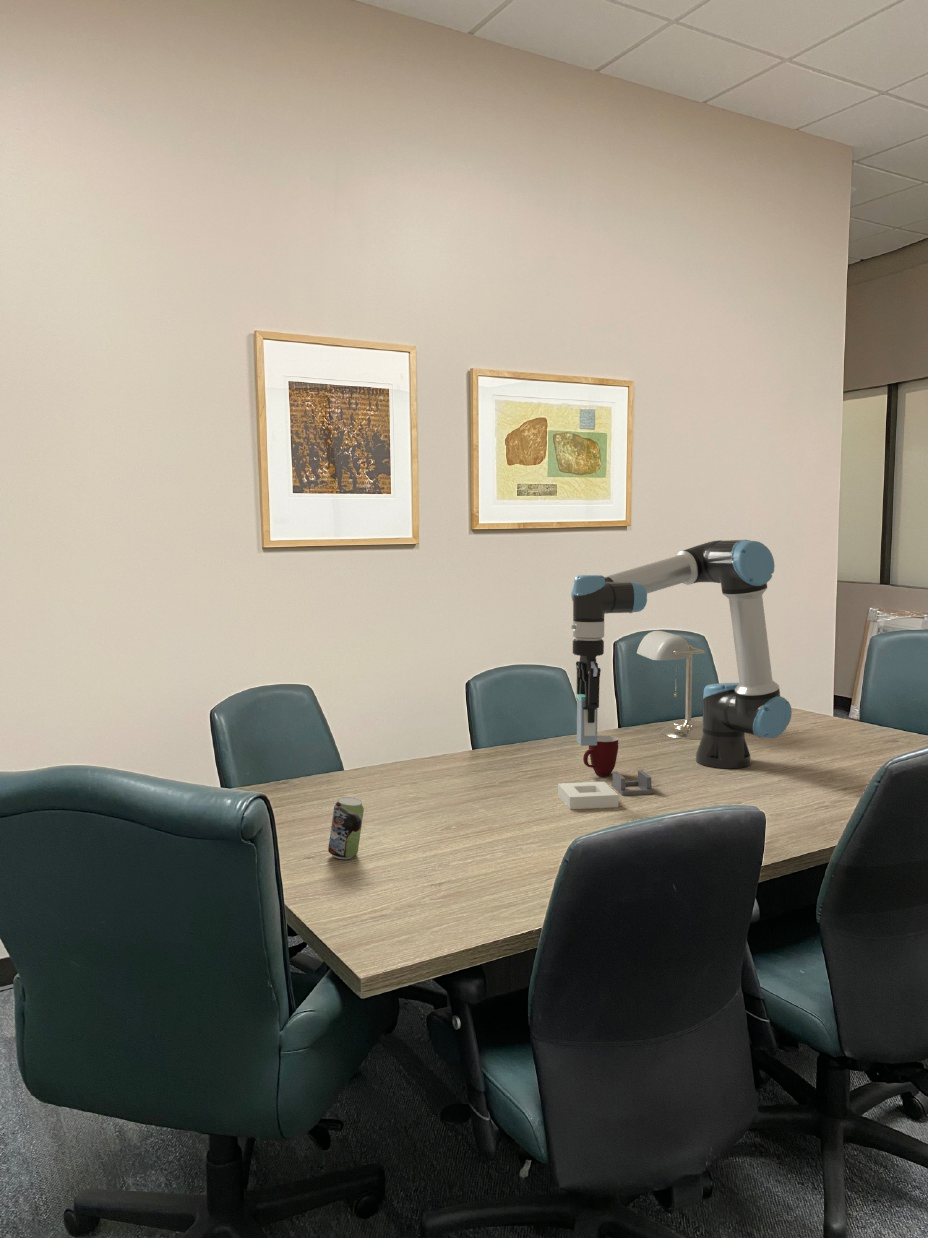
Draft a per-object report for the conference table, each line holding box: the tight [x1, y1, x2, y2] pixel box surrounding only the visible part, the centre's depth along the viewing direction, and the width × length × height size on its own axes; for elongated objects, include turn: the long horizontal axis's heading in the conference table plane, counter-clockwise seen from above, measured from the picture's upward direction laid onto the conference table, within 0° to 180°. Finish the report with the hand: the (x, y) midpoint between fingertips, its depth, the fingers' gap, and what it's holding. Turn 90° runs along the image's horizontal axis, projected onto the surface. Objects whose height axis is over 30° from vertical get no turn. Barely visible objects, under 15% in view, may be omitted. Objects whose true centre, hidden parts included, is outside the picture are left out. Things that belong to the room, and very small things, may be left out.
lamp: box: [636, 630, 706, 740], centre depth 290 cm, size 26×24×34 cm
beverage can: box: [327, 796, 365, 860], centre depth 178 cm, size 6×7×12 cm
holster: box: [610, 769, 654, 796], centre depth 226 cm, size 8×9×4 cm
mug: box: [582, 735, 619, 777], centre depth 240 cm, size 10×8×10 cm
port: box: [557, 781, 619, 810], centre depth 216 cm, size 12×12×3 cm
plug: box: [576, 693, 598, 747], centre depth 214 cm, size 4×4×12 cm
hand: (587, 733), depth 215 cm, fingers closed on plug, 4 cm apart
